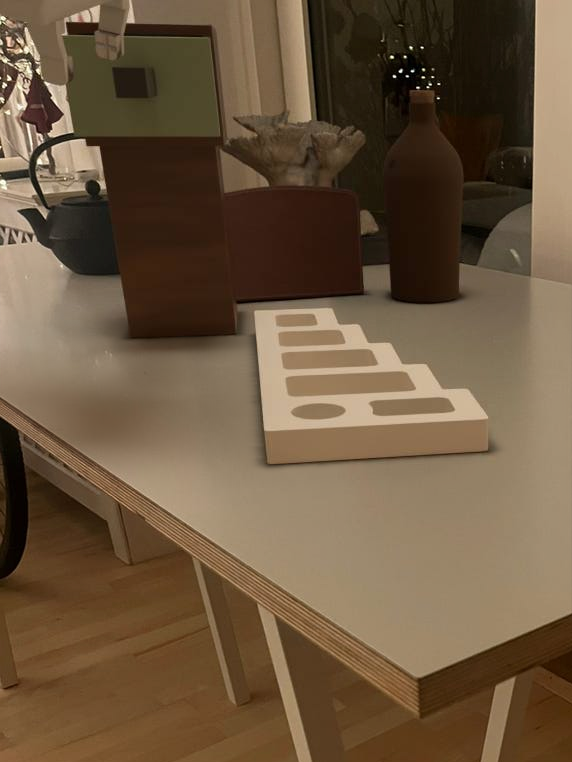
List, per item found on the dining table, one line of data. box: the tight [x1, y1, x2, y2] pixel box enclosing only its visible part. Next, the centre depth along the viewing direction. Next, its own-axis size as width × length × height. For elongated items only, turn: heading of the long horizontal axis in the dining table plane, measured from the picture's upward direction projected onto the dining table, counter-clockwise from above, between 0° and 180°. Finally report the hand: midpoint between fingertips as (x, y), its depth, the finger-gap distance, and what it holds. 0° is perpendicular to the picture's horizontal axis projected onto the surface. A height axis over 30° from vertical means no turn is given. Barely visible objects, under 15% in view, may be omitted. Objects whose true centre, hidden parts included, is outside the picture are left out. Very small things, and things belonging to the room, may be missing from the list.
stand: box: [65, 21, 239, 339], centre depth 112 cm, size 14×14×31 cm
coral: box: [220, 109, 389, 266], centre depth 158 cm, size 25×20×22 cm
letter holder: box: [225, 185, 365, 303], centre depth 135 cm, size 10×20×14 cm, turn 114°
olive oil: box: [382, 89, 465, 304], centre depth 131 cm, size 11×11×25 cm
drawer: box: [62, 34, 220, 137], centre depth 97 cm, size 23×14×8 cm, turn 11°
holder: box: [253, 307, 489, 465], centre depth 98 cm, size 45×18×3 cm, turn 12°
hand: (85, 69), depth 77 cm, fingers open, 8 cm apart
